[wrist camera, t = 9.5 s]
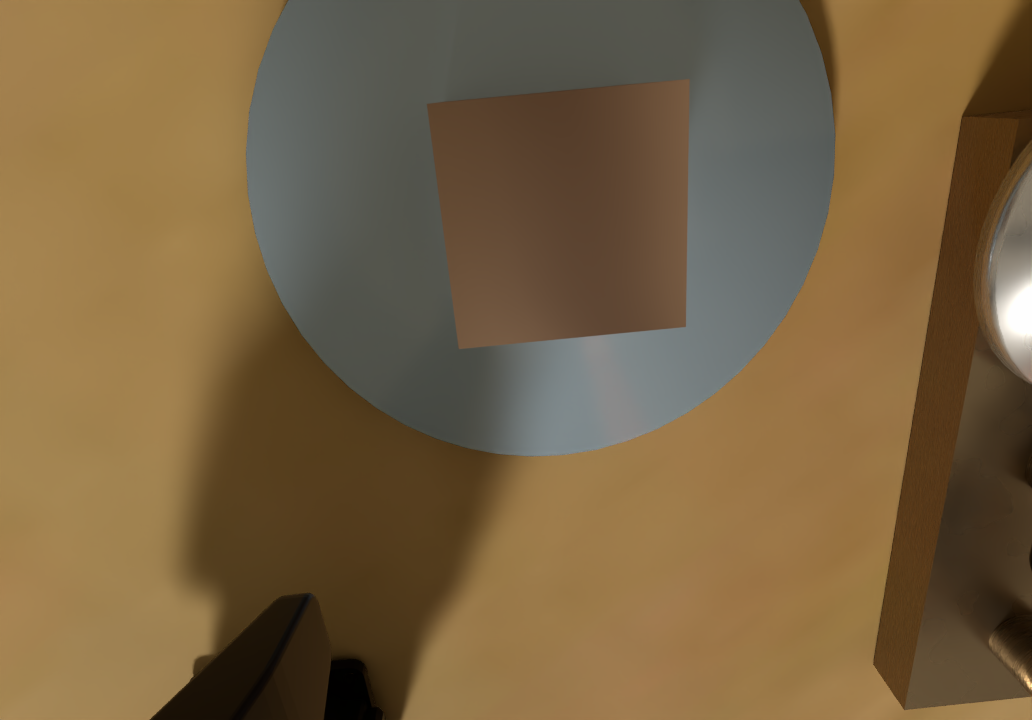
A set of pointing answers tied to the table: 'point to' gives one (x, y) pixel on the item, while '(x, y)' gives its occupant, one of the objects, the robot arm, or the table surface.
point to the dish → (417, 215)
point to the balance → (970, 446)
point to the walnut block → (565, 211)
